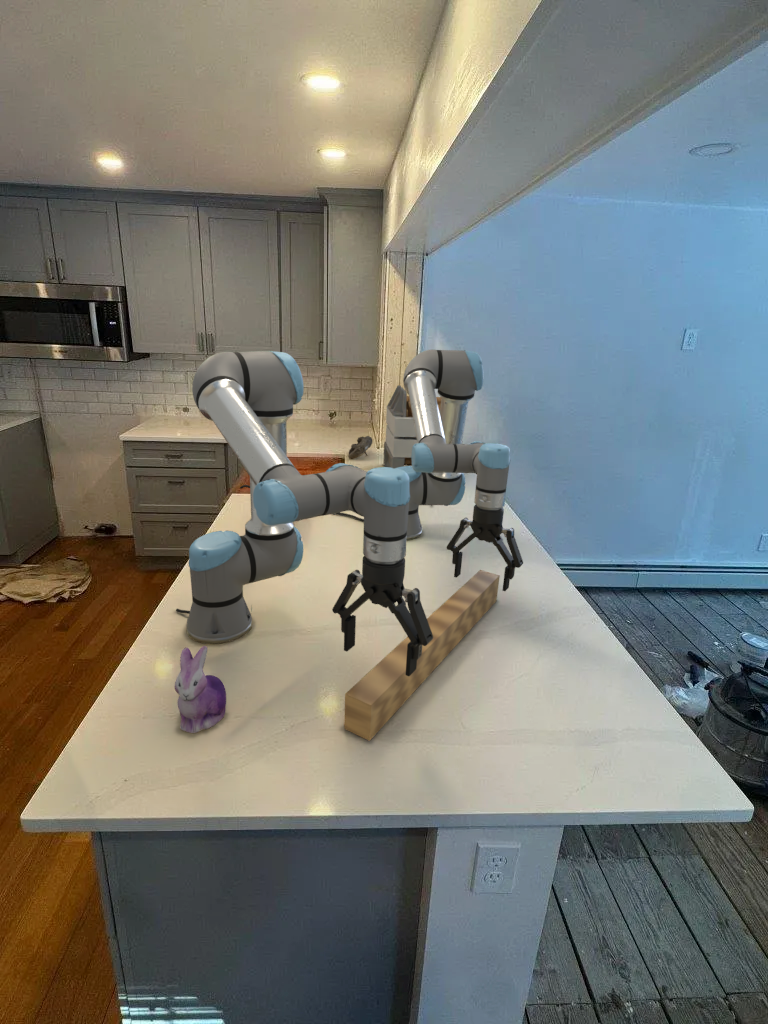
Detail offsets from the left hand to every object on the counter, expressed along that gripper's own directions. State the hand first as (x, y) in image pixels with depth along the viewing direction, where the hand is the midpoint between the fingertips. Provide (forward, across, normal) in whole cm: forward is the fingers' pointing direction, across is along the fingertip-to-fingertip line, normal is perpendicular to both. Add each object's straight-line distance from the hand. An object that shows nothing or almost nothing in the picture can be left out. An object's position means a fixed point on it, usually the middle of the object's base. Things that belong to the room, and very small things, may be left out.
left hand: (379, 659), depth 106 cm
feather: (+13, -54, +129) cm, 141 cm away
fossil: (+13, -116, +168) cm, 205 cm away
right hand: (+5, 0, +51) cm, 51 cm away
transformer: (+13, -75, +159) cm, 176 cm away
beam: (+13, 0, +26) cm, 29 cm away
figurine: (+13, -27, -20) cm, 35 cm away
